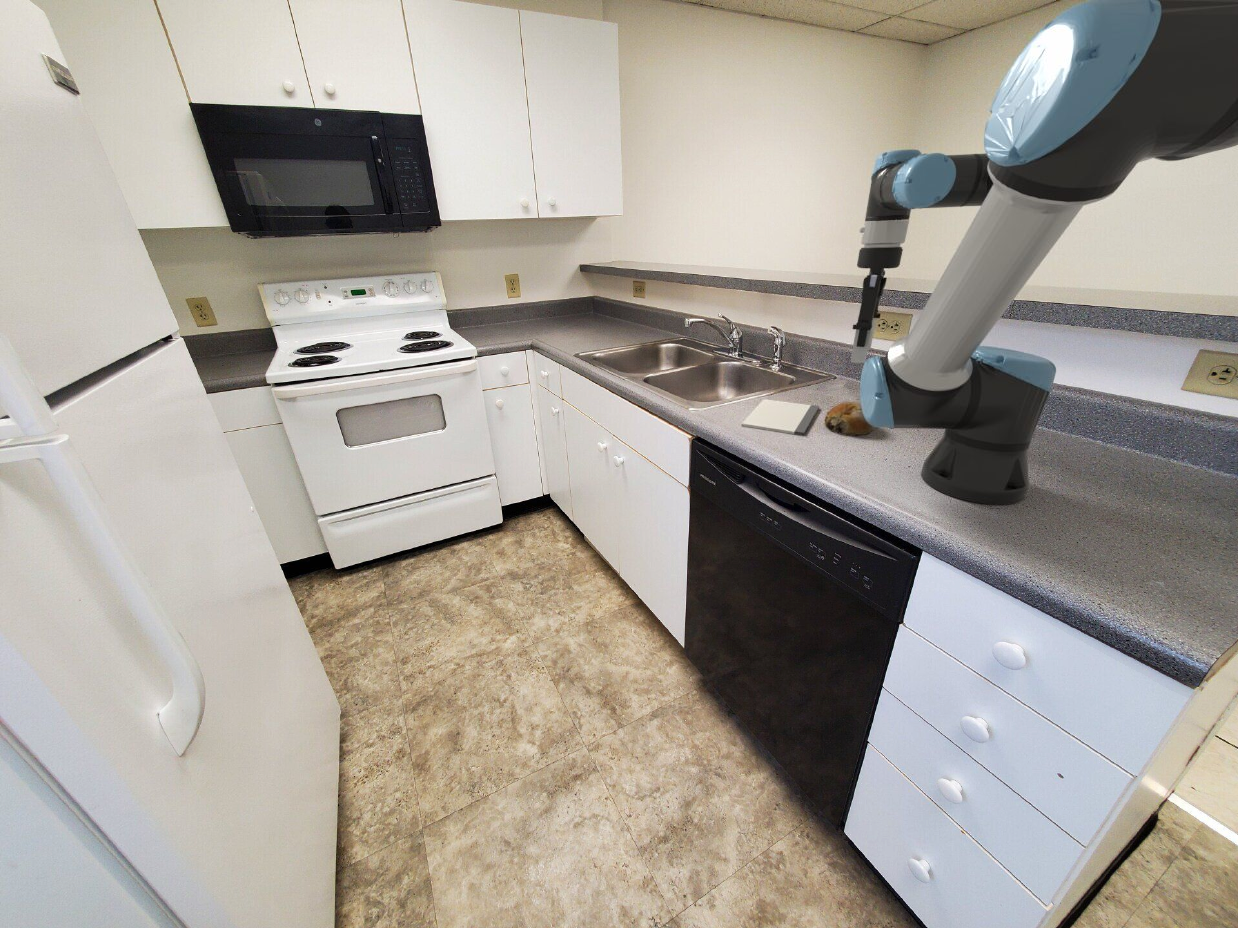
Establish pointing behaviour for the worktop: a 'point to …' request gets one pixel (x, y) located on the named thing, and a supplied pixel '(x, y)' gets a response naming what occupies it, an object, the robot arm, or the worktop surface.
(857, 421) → the bread roll
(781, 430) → the mat
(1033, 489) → the worktop surface
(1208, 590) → the worktop surface
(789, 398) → the worktop surface
